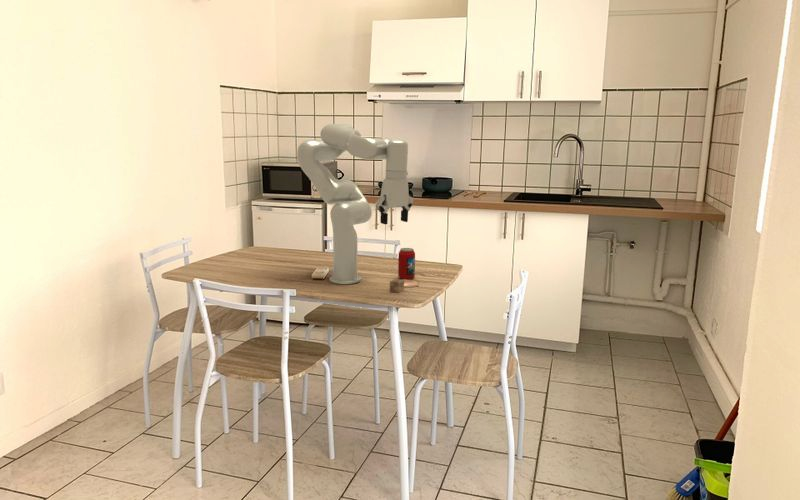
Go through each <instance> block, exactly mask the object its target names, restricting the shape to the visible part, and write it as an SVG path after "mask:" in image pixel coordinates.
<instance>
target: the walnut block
mask: <svg viewBox="0 0 800 500" xmlns="http://www.w3.org/2000/svg"><path fill="white" fill-rule="evenodd" d="M404 291H405V288H404V280H403V279H398V278H397V279H396V278H395V279H391V280H390V281H389V292H391V293H396V294H400V293H402V292H404Z"/></svg>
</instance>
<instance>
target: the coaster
mask: <svg viewBox="0 0 800 500" xmlns="http://www.w3.org/2000/svg"><path fill="white" fill-rule="evenodd" d="M402 280H404V289H405V288H406V289H407V288H408V289H409V288H415V287H418V286H419V282H418V281H417V280H413V279H402Z"/></svg>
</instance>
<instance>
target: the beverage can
mask: <svg viewBox="0 0 800 500" xmlns="http://www.w3.org/2000/svg"><path fill="white" fill-rule="evenodd" d="M397 264H398V266H397V269H398V270H397V271H398V272H397V273H398V274H397V276H398V278H400V280H403V279H406V280H413V278H414V277H415V275H416V274H415V273H416V252H415V250H414V248H412V247H401V248H400V250H399V252H398V263H397Z"/></svg>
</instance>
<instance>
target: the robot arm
mask: <svg viewBox="0 0 800 500" xmlns="http://www.w3.org/2000/svg"><path fill="white" fill-rule="evenodd" d="M319 134H320V135H319V136H320V139H309V140H308V139H307V140H305V141H302V143H300V144H299V146H298V147H297V154H296V156H297V162H298V165H299V166H300V167H299V168H301V170H302V171H303V173H304V174H305V175H306V177H308V179H309V181H311V183H312V185H313V187H314V189H315V190H316V192H318V194H319V196H320V198H322V200H323V202H324V203H325V204H328V205H332V206H331V208H330V213H329V215H330V216H329V217H330V220H331V226H332V245H333V249H332V250H333V251H332V252H333V257H332V258H333V261H332V263H333V264H332V265H333V266H332V268H330V269H329V272H331V273H332V275H331V276H330V277H329V282H331V284H332V283H333V284H337V285H338V284H339V285H353V284H357V283H360V282H361V281H362V277H361V276H360V275H358V244H359V243H358V234H357V231H356V229H355V227H354V226H355V225H361V224H365V223H367V222H369V221H370V220H371V218H372V213H373V212H372V208H371V205H370V203H369V201H368V200H367V198H366V197H365V196H364V194H363V193H362V191H361V189H360V187H358V185H357V184H356V183H355V182H354V181H352V180H350V179H337V178H335V176H334V175H333V174H332V172H331V170H329V168H328V167H326V166H325V165H324V164H323V163H321V162H328V161H334V160H336V159H338V158H339V157H340V156H341V155H343V153H345V152H348V153H349V155H351V156H353V157H356V158H359V159H363V160H368V161H373V160H385V178H384V179H382V184H381V189H380V197H379V198H378V199H377V200H375V206H376V209H377V210H378V212H379V213H380V224H382V225H388V221H389V220H388V216H389V214H388V211H389V210H390V208H391V209H392V208H393V209H394V208H401V211H400V221H401V222H404V223H408V221H409V212H410V210H411V207H412V206H413V202H414V200H415V199H414V197H412V196H410V194H409V190H410V189H409V181H408V179H407V176H408V175H409V172H408V152H409V144H408V142H407V141H406V140H400V139H392V138H386V137H385V138H383V137H382V138H380V137H373V138H370V137H364V136H362V135H361V133H360V131H359V130H357V129H355V128H354V127H353V126H351V125H350V124H347V123H329V124H326V125H325V126H323V127H322V129H321V130H320V133H319Z"/></svg>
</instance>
